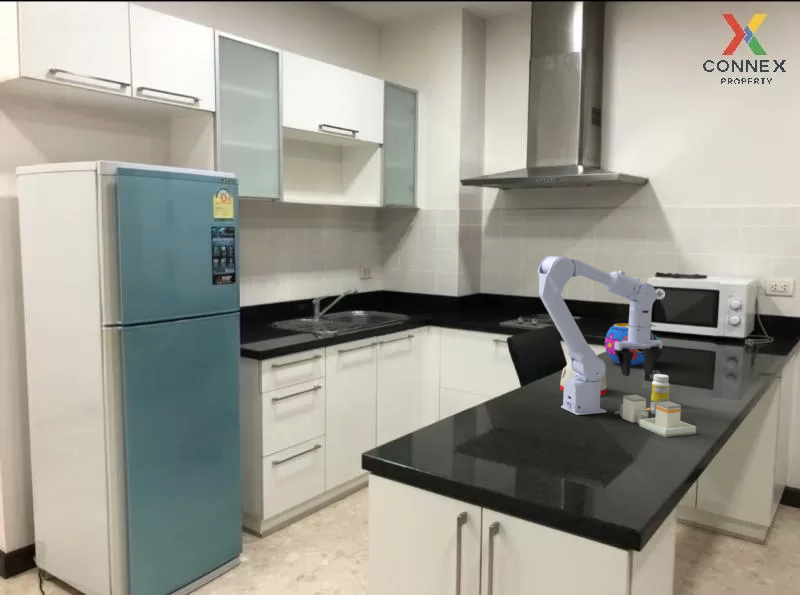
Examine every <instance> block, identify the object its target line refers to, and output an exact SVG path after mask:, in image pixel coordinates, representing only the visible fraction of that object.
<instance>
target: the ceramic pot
mask: <svg viewBox="0 0 800 595" xmlns="http://www.w3.org/2000/svg"><path fill="white" fill-rule="evenodd" d="M628 329H629V323H622V322H621V323H615V324H613V325H612V326H611V327H610V328H609V329H608V330H607V333H606V335H605V337H604V338H605V339H604V346H605V347H604V348H605V351H606V353H607V356H608V357H609V358H610V360H611V361H613V362H615V363H617V364H619V365H620V362H619V359H618V357H617V355H616V353H615V349H614V345H615V342H622V341H628ZM650 340H659V338H658V336H657V335H656V334H654V333H652V331H651V332H650ZM635 347H640V346H635ZM629 350H630V352H633V353H634V354H633V357H632V360H631V365H630V367H635V366H639V365H643V364H645V359H644V352H643V349H629Z"/></svg>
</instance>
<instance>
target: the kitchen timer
mask: <svg viewBox="0 0 800 595" xmlns="http://www.w3.org/2000/svg"><path fill="white" fill-rule="evenodd" d="M574 374H575V371H574V370H573V369H572V366H571V359H570V360H569V361H568V363H567V364H566V366H564V367H563V369H562V371H561V378H560V383H559V384H560V387H559V390H560V391H561V390H562V391H561V392H563V393H564V384H565V382H566V381H568V380H571V379H573V378H574ZM606 377H607V376H606V373H605V374H604V376H603V377H602V378H601V392H600V396H604V395H606V394H607V389H608V388H607V378H606Z"/></svg>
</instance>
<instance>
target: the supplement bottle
mask: <svg viewBox="0 0 800 595" xmlns="http://www.w3.org/2000/svg"><path fill="white" fill-rule="evenodd" d="M669 377H670V376H669V375H667V374H661V373H656V374H653V377H652V378H653V381H652V383H651V394H650V403H651V402H666V401H670V400H669V399H670V385H671V384H670V383H669Z"/></svg>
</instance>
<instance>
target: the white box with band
mask: <svg viewBox="0 0 800 595" xmlns="http://www.w3.org/2000/svg"><path fill="white" fill-rule="evenodd" d="M681 412H682V405H680V404H678V403H675V402H672V401H670V400H669V401H666V402H656V414H655V417H654V418H655V425H658V426H660V427H662V428H665V429H670V428H679V427H680V421H681Z"/></svg>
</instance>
